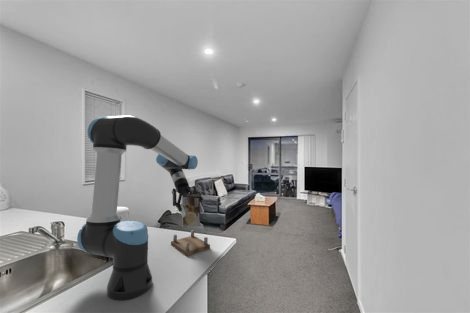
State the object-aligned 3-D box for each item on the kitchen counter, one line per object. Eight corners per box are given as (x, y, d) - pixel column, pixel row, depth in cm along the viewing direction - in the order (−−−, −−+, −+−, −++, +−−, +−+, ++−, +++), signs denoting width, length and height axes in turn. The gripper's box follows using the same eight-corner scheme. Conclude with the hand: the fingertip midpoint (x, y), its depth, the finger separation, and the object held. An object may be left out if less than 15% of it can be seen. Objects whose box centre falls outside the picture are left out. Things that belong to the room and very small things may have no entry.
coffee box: (198, 222, 122) (199, 193, 122) (200, 226, 116) (200, 196, 116) (181, 223, 120) (182, 194, 120) (182, 227, 114) (182, 196, 114)
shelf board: (186, 256, 107) (186, 245, 107) (170, 244, 120) (171, 234, 120) (209, 248, 116) (210, 238, 116) (193, 238, 129) (193, 229, 129)
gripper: (194, 183, 137) (208, 214, 125) (159, 187, 122) (171, 222, 110) (199, 176, 133) (214, 206, 121) (163, 178, 118) (176, 213, 106)
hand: (193, 214), depth 116 cm, fingers closed on coffee box, 10 cm apart
